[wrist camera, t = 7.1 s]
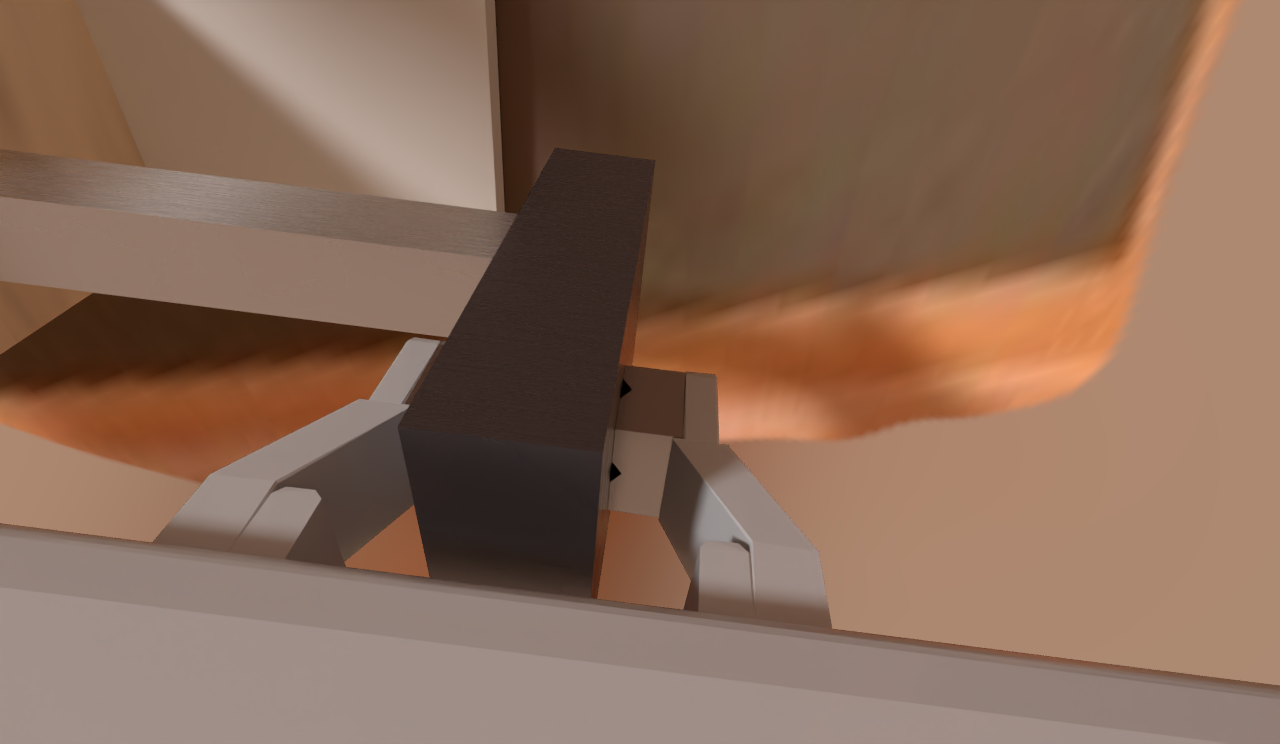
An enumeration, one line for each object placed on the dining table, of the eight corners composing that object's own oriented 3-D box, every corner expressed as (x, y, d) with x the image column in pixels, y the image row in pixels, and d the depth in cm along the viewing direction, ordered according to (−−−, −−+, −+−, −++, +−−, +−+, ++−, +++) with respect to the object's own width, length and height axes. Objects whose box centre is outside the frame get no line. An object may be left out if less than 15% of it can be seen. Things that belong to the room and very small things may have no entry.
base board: (-214, 238, 25) (-243, 250, 24) (-721, -352, 15) (-799, -365, 14) (510, 330, 25) (504, 344, 24) (485, -205, 15) (473, -210, 14)
